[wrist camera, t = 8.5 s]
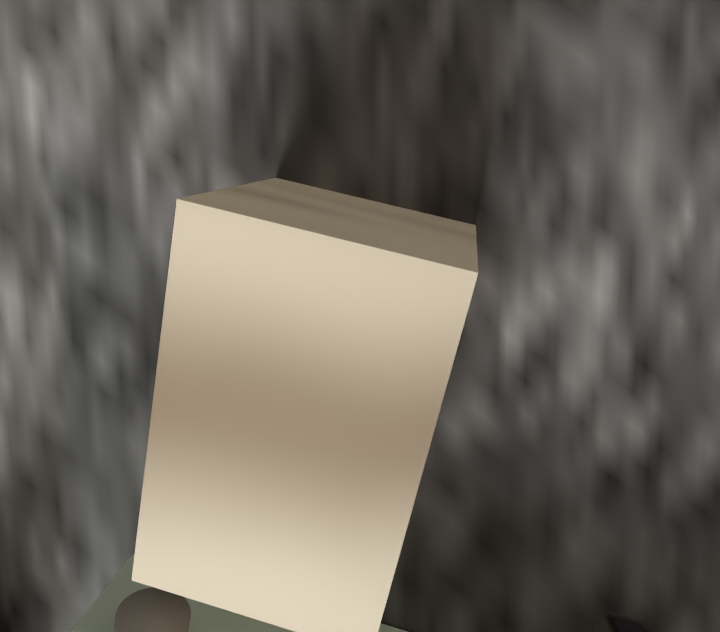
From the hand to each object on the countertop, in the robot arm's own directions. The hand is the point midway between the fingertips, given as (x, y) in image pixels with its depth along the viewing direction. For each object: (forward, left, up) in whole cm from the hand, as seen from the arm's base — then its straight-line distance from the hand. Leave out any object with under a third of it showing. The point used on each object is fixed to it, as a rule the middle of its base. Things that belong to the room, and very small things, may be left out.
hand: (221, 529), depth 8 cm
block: (0, 0, -8) cm, 8 cm away
